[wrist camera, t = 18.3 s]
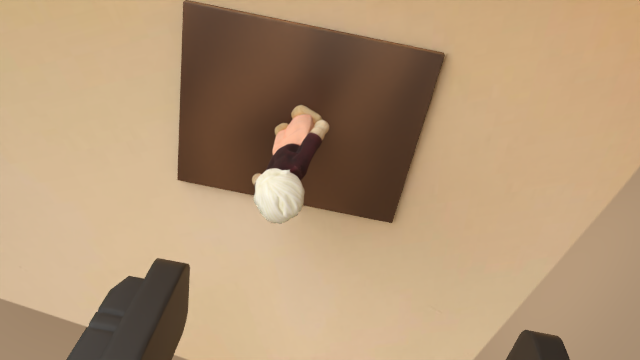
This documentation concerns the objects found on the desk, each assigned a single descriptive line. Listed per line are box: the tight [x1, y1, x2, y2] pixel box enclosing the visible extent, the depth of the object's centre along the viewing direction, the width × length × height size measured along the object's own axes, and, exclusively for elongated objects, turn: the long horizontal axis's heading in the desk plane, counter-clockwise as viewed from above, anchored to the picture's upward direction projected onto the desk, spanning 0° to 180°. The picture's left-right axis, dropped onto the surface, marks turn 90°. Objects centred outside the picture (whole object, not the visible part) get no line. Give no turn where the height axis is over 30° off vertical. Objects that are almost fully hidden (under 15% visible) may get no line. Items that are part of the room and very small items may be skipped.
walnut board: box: [178, 0, 445, 223], centre depth 43 cm, size 20×16×1 cm
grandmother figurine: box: [252, 105, 329, 224], centre depth 37 cm, size 8×4×13 cm, turn 146°
